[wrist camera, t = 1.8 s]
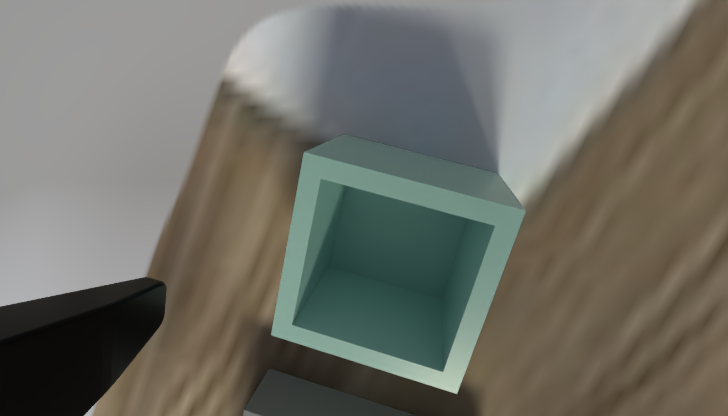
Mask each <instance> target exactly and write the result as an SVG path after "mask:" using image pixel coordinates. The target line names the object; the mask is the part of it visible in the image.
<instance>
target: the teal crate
mask: <svg viewBox="0 0 728 416" xmlns="http://www.w3.org/2000/svg"><path fill="white" fill-rule="evenodd" d="M525 212H526V210H525V209H524V207H523V206H522V205H521V203H520V202H519V200H518V199H517V198H516V196H515V195H514V194H513V192H512V191H511V190H510V188H509V187H508V186H507V184H506V183H505V182H504V180H503V179H502V178H501V176H500V175H499V174H498V173H494V172H490V171H486V170H483V169H479V168H475V167H471V166H467V165H463V164H459V163H455V162H451V161H447V160H444V159H440V158H436V157H432V156H428V155H424V154H420V153H416V152H412V151H408V150H404V149H401V148H397V147H393V146H389V145H385V144H381V143H377V142H373V141H369V140H365V139H362V138H358V137H354V136H350V135H346V134H343V135H341V136H339V137H336V138H334V139H332V140H330V141H327V142H325V143H323V144H321V145H319V146H316V147H314V148H312V149H310V150H307V151H305V152H304V154H303V160H302V165H301V171H300V176H299V182H298V187H297V193H296V199H295V204H294V210H293V215H292V221H291V226H290V232H289V238H288V243H287V249H286V254H285V260H284V265H283V271H282V277H281V282H280V288H279V293H278V299H277V304H276V310H275V316H274V321H273V327H272V332H271V335H272V336H275V337H278V338H281V339H285V340H288V341H291V342H294V343H297V344H300V345H304V346H307V347H310V348H313V349H316V350H319V351H322V352H326V353H329V354H332V355H335V356H338V357H341V358H345V359H348V360H351V361H354V362H357V363H360V364H364V365H367V366H370V367H373V368H376V369H379V370H382V371H386V372H389V373H392V374H395V375H398V376H401V377H405V378H408V379H411V380H414V381H417V382H420V383H424V384H427V385H430V386H433V387H436V388H439V389H442V390H446V391H449V392H452V393H455V394H457V393H458V390H459V387H460V385H461V382H462V379H463V377H464V374H465V371H466V369H467V366H468V363H469V361H470V358H471V355H472V353H473V350H474V347H475V345H476V342H477V340H478V337H479V334H480V332H481V329H482V326H483V324H484V321H485V318H486V316H487V313H488V310H489V308H490V305H491V302H492V300H493V297H494V294H495V292H496V289H497V287H498V284H499V281H500V279H501V276H502V273H503V271H504V268H505V265H506V263H507V260H508V257H509V255H510V252H511V249H512V247H513V244H514V241H515V239H516V236H517V233H518V231H519V228H520V226H521V223H522V220H523V218H524V215H525Z"/></svg>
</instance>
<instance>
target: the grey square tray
mask: <svg viewBox="0 0 728 416" xmlns="http://www.w3.org/2000/svg"><path fill="white" fill-rule="evenodd" d="M243 416H416V415H413V414H410V413H407V412H403V411H400V410H397V409H394V408H391V407H388V406H385V405H382V404H378V403H375V402H372V401H369V400H366V399H363V398H360V397H357V396H354V395H350V394H347V393H344V392H341V391H338V390H335V389H332V388H329V387H326V386H322V385H319V384H316V383H313V382H310V381H307V380H304V379H301V378H297V377H294V376H291V375H288V374H285V373H282V372H279V371H276V370H273V369H269V370H268V371H267V373H266V375H265V376H264V378H263V379H262V381H261V383H260V384H259V386H258V388H257V389H256V391H255V392H254V394H253V396H252V397H251V399H250V401H249V402H248V404H247V405H246V407H245V409H244V412H243Z"/></svg>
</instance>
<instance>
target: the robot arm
mask: <svg viewBox="0 0 728 416" xmlns="http://www.w3.org/2000/svg"><path fill="white" fill-rule="evenodd" d="M165 302H166V285H165V283H164V282H162V281H159V280H155V279H152V278H149V277H144V278H139V279H134V280H129V281H124V282H119V283H114V284H109V285H105V286H100V287H95V288H90V289H85V290H80V291H75V292H70V293H65V294H61V295H56V296H50V297H46V298H41V299H36V300H31V301H27V302H21V303H17V304H12V305H6V306H2V307H0V416H84V415H85V414H86V412H88V410H90V408H91V407H92V406H93V405H94V404H95V403H96V402H97V401H98V400H99V399H100V398H101V397H102V396H103V395H104V394H105V393H106V392H107V391H108V390H109V388H110V387H111V386H112V385H113V384H114V383H115V382H116V380H117V379H118V378H119V377H120V376H121V374H122V373H123V372H124V371H125V369H126V368H127V367H128V366H129V364H130V363H131V362H132V361H133V359H134V358H135V357H136V356H137V354H138V353H139V352H140V351H141V349H142V348H143V347H144V346H145V344H146V343H147V342H148V341H149V339H150V338H151V337H152V336H153V334H154V333H155V332H156V331H157V329H158V328H159V327H160V325H161V323H162V321H163V319H164V314H165Z"/></svg>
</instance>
